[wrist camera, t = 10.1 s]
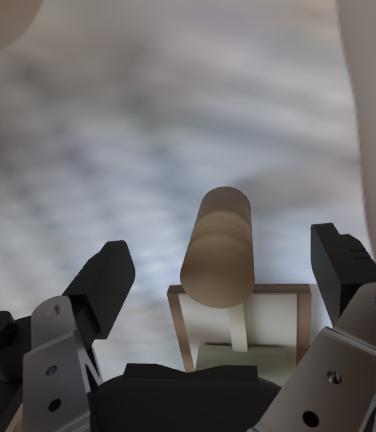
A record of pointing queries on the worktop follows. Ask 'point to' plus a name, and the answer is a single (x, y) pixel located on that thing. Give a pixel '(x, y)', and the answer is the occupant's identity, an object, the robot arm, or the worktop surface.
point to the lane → (246, 322)
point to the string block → (227, 280)
